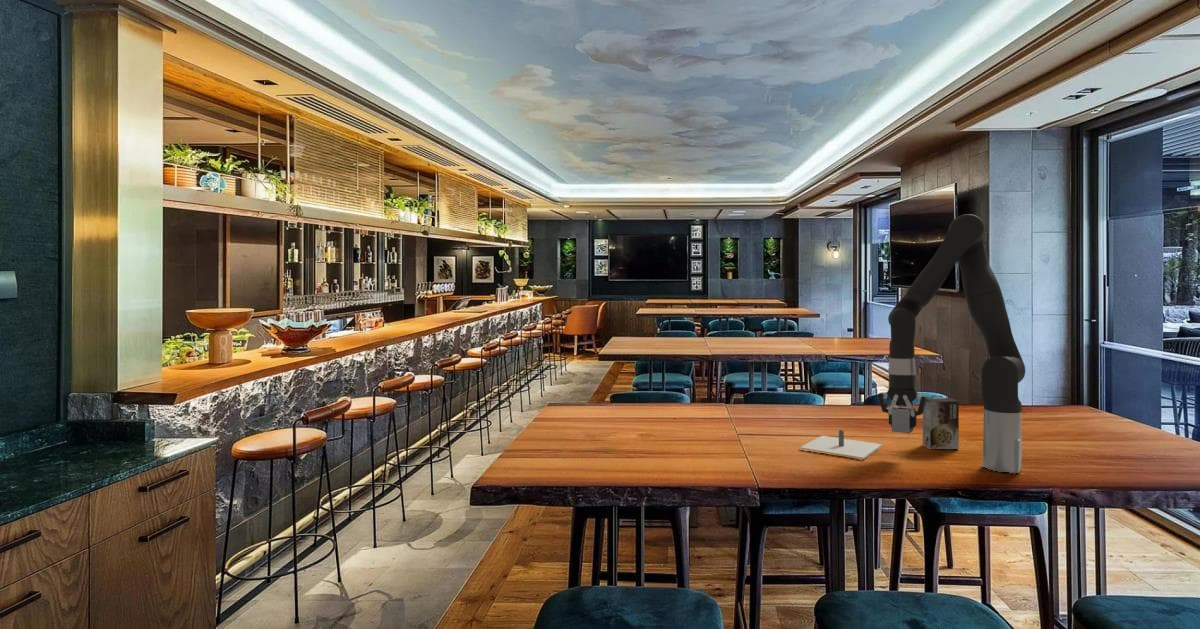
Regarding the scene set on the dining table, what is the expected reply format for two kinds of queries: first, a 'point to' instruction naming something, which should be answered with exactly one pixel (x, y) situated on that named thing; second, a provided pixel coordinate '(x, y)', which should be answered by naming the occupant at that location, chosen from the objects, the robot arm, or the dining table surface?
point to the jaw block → (901, 420)
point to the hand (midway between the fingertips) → (902, 426)
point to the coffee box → (941, 423)
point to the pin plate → (842, 446)
